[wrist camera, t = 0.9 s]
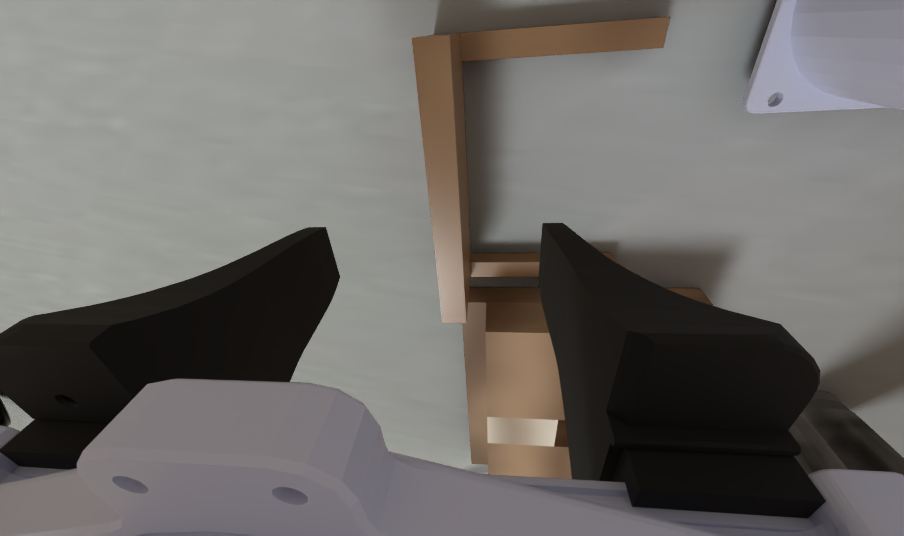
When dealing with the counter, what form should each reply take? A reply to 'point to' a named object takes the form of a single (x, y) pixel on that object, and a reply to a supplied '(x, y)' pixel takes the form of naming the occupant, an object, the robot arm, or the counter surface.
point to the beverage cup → (840, 439)
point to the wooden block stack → (517, 384)
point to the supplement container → (4, 415)
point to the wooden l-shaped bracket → (447, 134)
